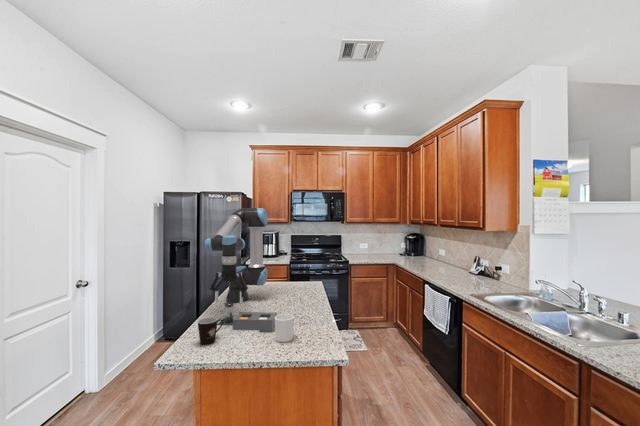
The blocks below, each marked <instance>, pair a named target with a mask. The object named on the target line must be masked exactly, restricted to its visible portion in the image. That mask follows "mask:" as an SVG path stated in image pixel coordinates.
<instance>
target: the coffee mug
mask: <svg viewBox="0 0 640 426" xmlns="http://www.w3.org/2000/svg"><path fill="white" fill-rule="evenodd" d="M220 321H222V324H221V325H219V327H218V325H217V324H218V323H219V322H220ZM223 326H224V325H223V319H220V318H219V319H218V317H214V316H213V317H211V316H210V317H204V318H199V319H198V321H197V327H198V335H199V336H198V337H199V343H200V345H201V346H211V345H213V344H214V343H215V342H216V336H217V333H218V332H219V330H220V329H221V328H222V327H223Z"/></svg>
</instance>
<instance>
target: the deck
mask: <svg viewBox="0 0 640 426" xmlns="http://www.w3.org/2000/svg"><path fill="white" fill-rule="evenodd" d="M222 320H223V325H222V326H233V322H232V323H225V318H223V319H222ZM221 324H222V321H218V322H217V326H221Z"/></svg>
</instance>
